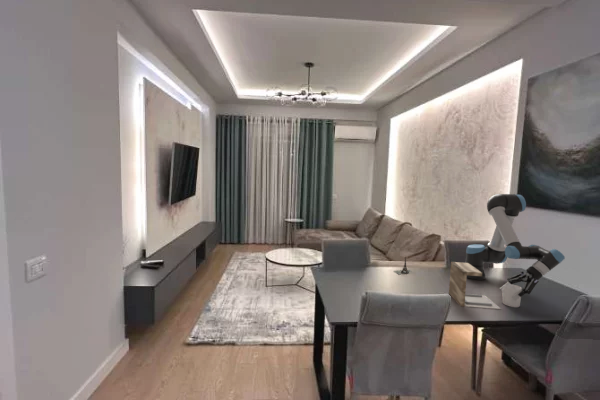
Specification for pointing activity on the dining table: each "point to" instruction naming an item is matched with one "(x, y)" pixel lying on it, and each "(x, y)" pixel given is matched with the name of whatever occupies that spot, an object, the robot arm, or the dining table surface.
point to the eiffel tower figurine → (403, 270)
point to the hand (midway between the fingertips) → (506, 294)
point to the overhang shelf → (460, 280)
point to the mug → (510, 295)
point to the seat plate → (479, 301)
